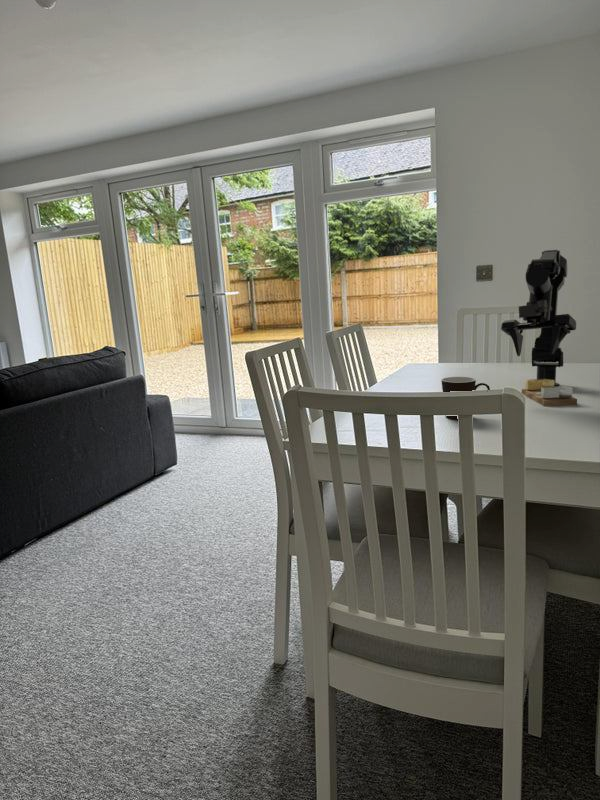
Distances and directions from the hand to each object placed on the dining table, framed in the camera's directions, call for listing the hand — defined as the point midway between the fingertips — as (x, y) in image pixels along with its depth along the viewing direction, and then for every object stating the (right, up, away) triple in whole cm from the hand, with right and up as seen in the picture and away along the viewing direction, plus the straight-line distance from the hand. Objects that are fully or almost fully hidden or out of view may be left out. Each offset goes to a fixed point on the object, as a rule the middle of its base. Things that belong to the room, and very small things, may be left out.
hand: (534, 354), depth 157 cm
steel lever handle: (+7, -12, +2) cm, 14 cm away
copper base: (+7, -12, +8) cm, 16 cm away
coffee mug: (-22, -17, -8) cm, 29 cm away
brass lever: (+7, -9, +14) cm, 18 cm away
